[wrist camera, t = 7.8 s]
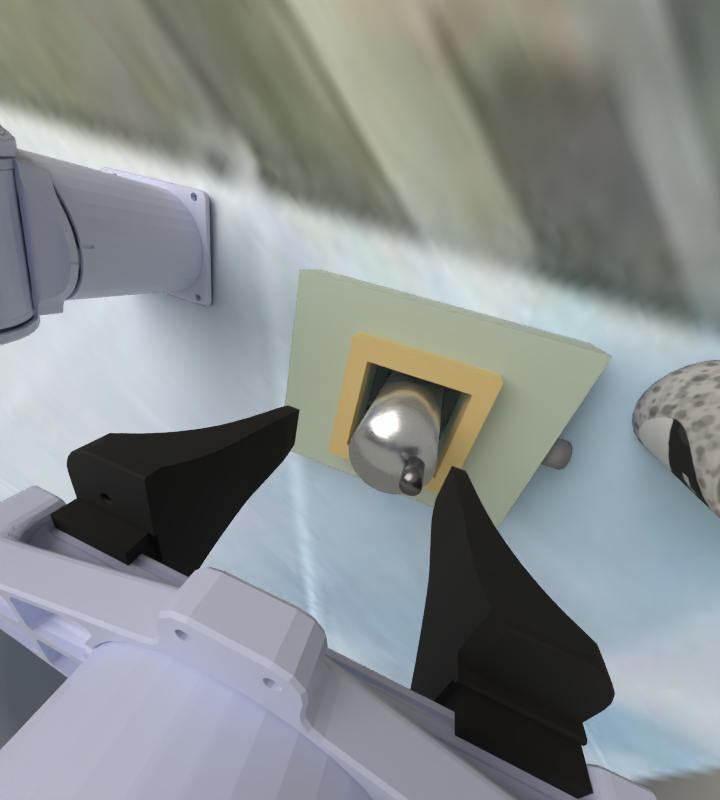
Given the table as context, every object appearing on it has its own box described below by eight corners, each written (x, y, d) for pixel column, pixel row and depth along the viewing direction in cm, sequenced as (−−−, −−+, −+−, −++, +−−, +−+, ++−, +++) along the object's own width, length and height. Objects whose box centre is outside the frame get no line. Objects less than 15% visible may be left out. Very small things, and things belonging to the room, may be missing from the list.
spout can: (381, 410, 24) (334, 501, 14) (389, 358, 22) (341, 426, 13) (436, 422, 23) (422, 528, 14) (449, 369, 21) (444, 452, 12)
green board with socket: (297, 429, 27) (270, 456, 23) (320, 269, 21) (287, 270, 17) (510, 510, 24) (521, 558, 20) (617, 351, 17) (664, 375, 13)
